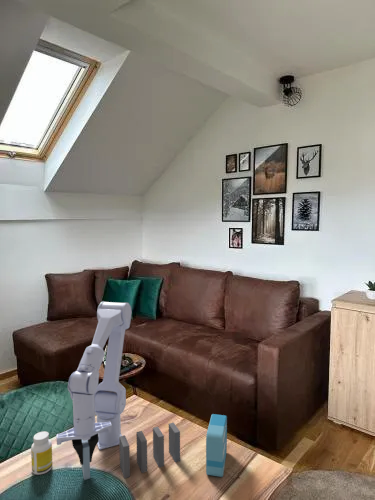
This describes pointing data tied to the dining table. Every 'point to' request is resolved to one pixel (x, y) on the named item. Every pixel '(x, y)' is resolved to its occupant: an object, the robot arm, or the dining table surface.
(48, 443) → the supplement bottle
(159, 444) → the domino
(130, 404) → the dining table surface
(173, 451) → the domino
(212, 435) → the data package
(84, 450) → the slate domino
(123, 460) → the domino
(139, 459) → the domino
